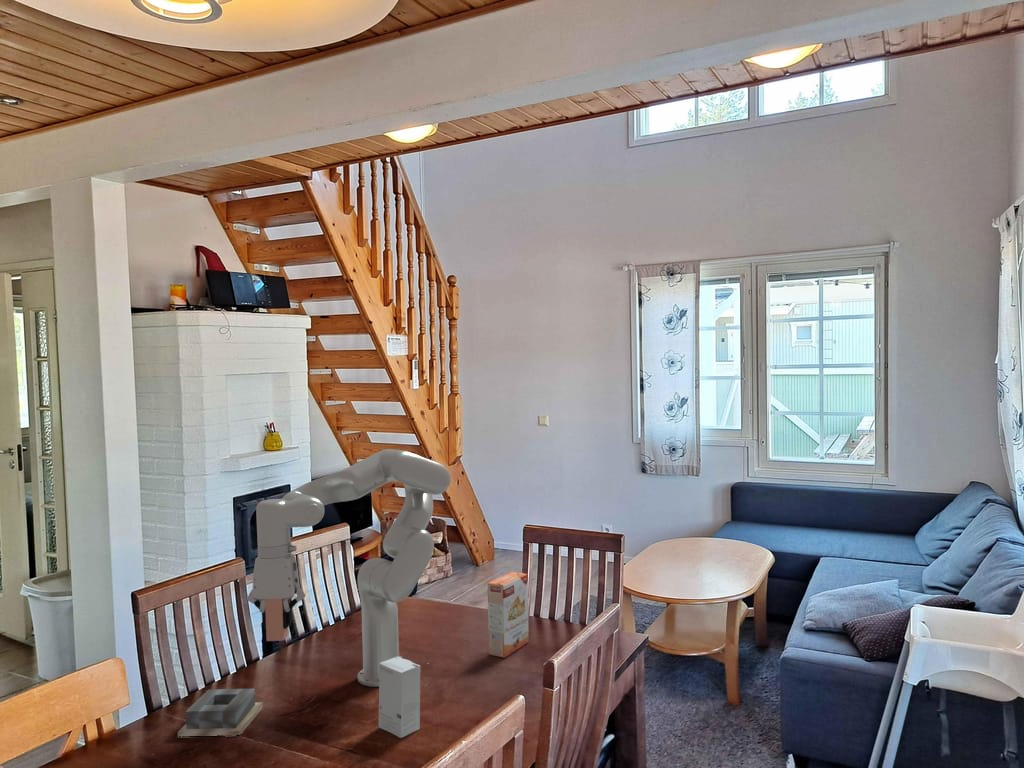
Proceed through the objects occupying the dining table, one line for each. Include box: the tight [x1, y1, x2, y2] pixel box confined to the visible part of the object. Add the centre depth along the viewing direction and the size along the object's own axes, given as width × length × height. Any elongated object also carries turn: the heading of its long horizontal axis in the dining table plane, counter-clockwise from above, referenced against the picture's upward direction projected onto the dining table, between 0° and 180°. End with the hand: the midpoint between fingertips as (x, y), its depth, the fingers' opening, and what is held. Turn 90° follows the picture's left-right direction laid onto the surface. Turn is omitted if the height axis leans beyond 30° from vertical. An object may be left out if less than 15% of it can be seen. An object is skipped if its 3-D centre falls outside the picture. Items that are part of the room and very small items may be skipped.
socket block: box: [177, 688, 264, 738], centre depth 163 cm, size 14×14×5 cm
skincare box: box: [378, 657, 421, 739], centre depth 157 cm, size 8×6×15 cm
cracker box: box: [487, 571, 530, 659], centre depth 203 cm, size 14×6×21 cm, turn 148°
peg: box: [265, 599, 290, 642], centre depth 167 cm, size 4×4×10 cm
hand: (277, 626), depth 167 cm, fingers closed on peg, 4 cm apart
